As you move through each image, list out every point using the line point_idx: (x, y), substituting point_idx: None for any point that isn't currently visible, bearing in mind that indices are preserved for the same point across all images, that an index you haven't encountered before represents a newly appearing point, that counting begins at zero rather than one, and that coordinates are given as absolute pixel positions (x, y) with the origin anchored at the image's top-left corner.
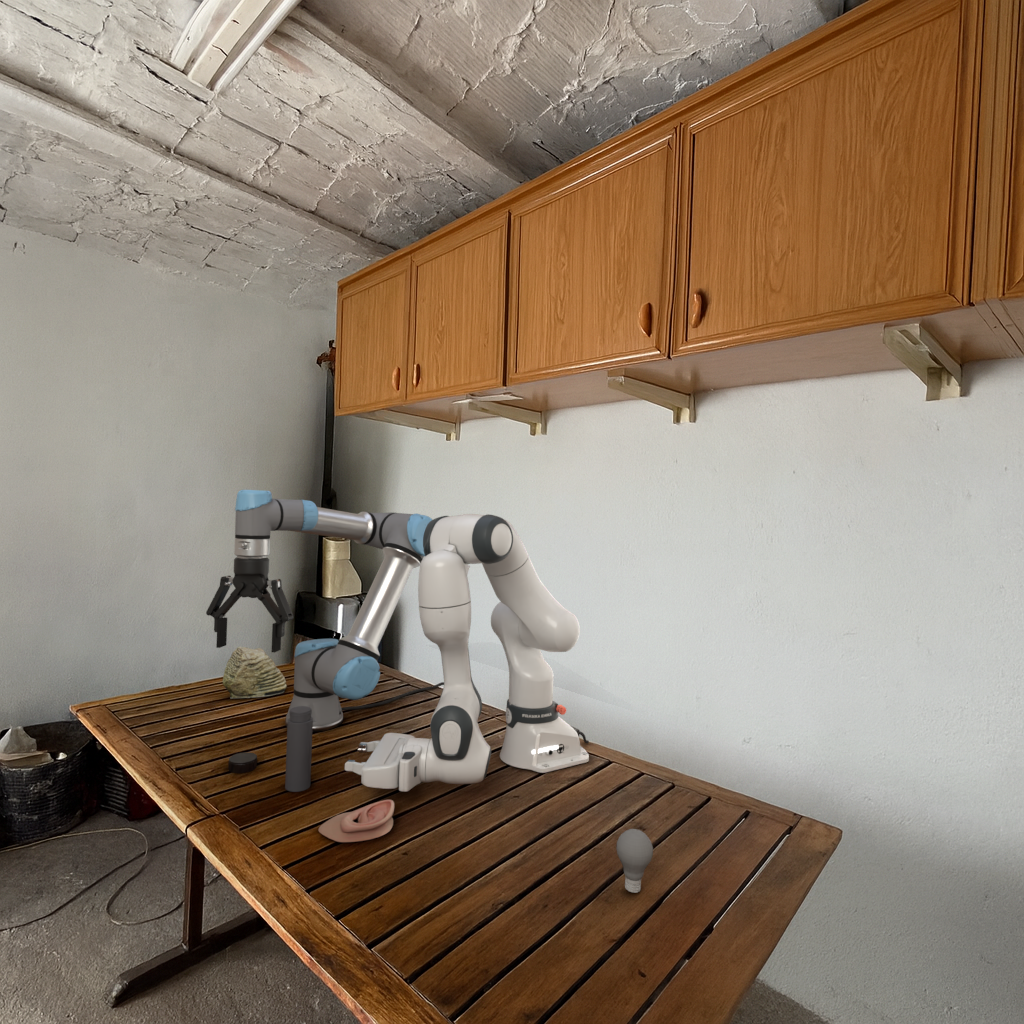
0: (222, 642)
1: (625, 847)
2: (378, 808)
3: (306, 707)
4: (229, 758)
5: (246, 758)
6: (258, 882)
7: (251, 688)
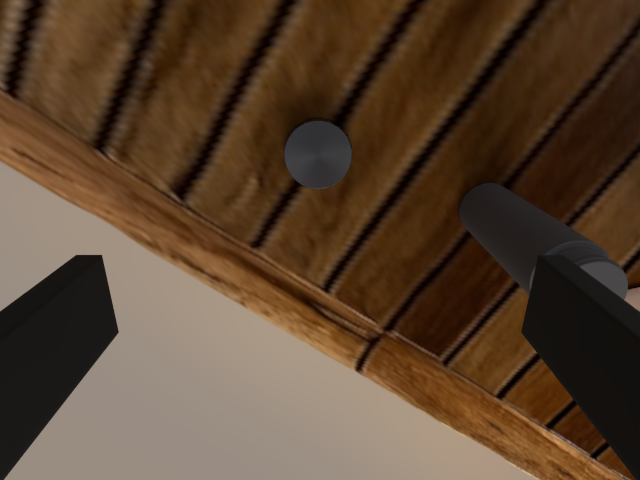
0: (94, 318)
1: None
2: None
3: (607, 273)
4: (289, 170)
5: (330, 159)
6: (525, 454)
7: None
